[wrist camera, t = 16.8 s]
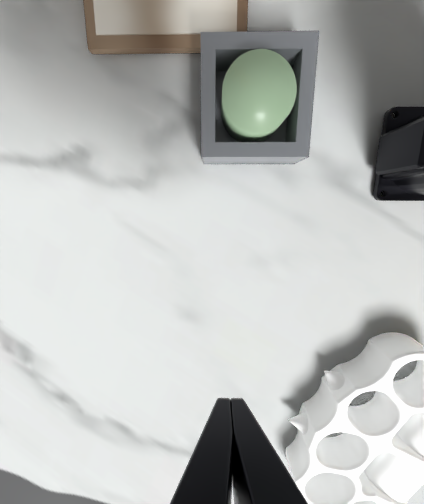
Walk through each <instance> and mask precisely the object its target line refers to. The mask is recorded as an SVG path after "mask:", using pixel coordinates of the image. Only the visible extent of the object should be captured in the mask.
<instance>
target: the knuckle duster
mask: <svg viewBox="0 0 424 504" xmlns="http://www.w3.org/2000/svg"><path fill="white" fill-rule="evenodd" d="M415 360H417V365H416V368H415V369H414V371H413V372H412V373H411V374H410V375H409V376H407V377H406V378H403V379H401V380H395V381H393V379H394V376H395V374H396V373H397V371H398V370H399V369H400V368H401V367H402V366H404V365H405V364H407V363H409V362H412V361H415ZM324 372H325V375H324V376H323V377H322V378H321V384H320V387H319V389H318V391H317V392H316V393H315V395H314V396H313V397H311V398H310V399H309V400H307V401H305V402H303V403H302V406H301V408H300V411H299V414H298V415H297V416H294V417H292V418H290V419H287V420H288V421H290V422H291V423H292V424H293V425H294V426H295V427H296V428H298V432H297V435H296V438H295V439H294V441H293V442H292V443H291V444H290V445H289V446H287V447H286V450H285V454H286V459H287V462H288V466H289V470H290V473H291V477H292V478H293V480H294V482H295V483H296V485H297V487H298V488H299V490H300V491H301V493H302V495H303V496H304V498H305V500H306V501H307V503H308V504H353V503H354V502H357V501H368V500H371V501H374V502H376V503H378V504H406V503H407V502H408V499H409V498H410V497H411V496H412V495H413V494H414V493H415V492H416V491H417V490H418V489H419V488H420V487H421V486H422V485H423V484H424V346H423V345H422V344H420V343H419V342H417V341H416V340H415V339H413V338H412V337H410V336H408V335H406V334H402V333H397V332H388V333H383V334H379V335H376V336H374V337H372V338H370V339H369V340H368V343H367V345H366V347H365V348H364V350H363V351H362V352H361V353H360V354H359V355H358V356H357V357H355V358H354V359H352V360H350V361H348V362H345V363H341V364H338V365H336V366H335V367H334V368H333V369H331V370H330V371H327V370H324ZM368 391H376V392H375V395H374V396H373V398H372V399H371V400H370V401H368V402H367V403H365V404H363V405H359V406H350V405H349V404H350V403H351V401H352V400H353V399H354V398H355V397H357V396H358V395H360V394H362V393H364V392H368ZM338 432H342V434H340V435H338V436H335V437H325V436H327V435H329V434H332V433H338Z"/></svg>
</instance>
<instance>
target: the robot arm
mask: <svg viewBox="0 0 424 504" xmlns="http://www.w3.org/2000/svg"><path fill="white" fill-rule="evenodd" d="M392 113H394V114H395V117H394V118H392ZM375 172H376V179H375V186H374V193H373V196H374V198H375V199H376V200H390V201H424V107H394V108H392V109H390V110H388V111H387V112H386V113H385V116H384V122H383V129H382V136H381V137H380V141H379V148H378V155H377V163H376V170H375ZM381 191H382V192H383V196H382V197H381V196H380V192H381ZM232 486H233V495H234V503H235V504H308V503H307V501H306V500H305V498H304V496H303V495H302V493H301V491H300V490H299V488H298V487H297V485H296V483H295V482H294V480H293V478H292V477H291V475H290V474H289V472H288V470H287V469H286V467H285V466H284V464H283V462H282V461H281V459H280V457H279V456H278V454H277V453H276V451H275V449H274V448H273V446H272V445H271V443H270V441H269V440H268V438H267V436H266V435H265V433H264V432H263V430H262V428H261V427H260V425H259V424H258V422H257V420H256V419H255V417H254V415H253V414H252V412H251V411H250V409H249V407H248V406H247V404H246V403H245V401H244V400H243V399H242V398H232V399H231V400H230V399H229V398H218V399H217V401H216V403H215V405H214V407H213V409H212V412H211V414H210V416H209V418H208V421H207V423H206V425H205V427H204V429H203V432H202V434H201V436H200V438H199V440H198V443H197V445H196V447H195V449H194V452H193V454H192V456H191V458H190V460H189V463H188V465H187V467H186V469H185V471H184V474H183V476H182V478H181V480H180V483H179V485H178V487H177V489H176V491H175V494H174V496H173V498H172V500H171V503H170V504H231V493H232Z"/></svg>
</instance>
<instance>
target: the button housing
mask: <svg viewBox="0 0 424 504" xmlns="http://www.w3.org/2000/svg"><path fill="white" fill-rule="evenodd" d="M318 40H319V31H248V32H201V157H202V160H203V163H204V164H295V163H297V162H299V161H301V160H303V159H305V158H308V157H309V148H310V136H311V124H312V112H313V100H314V88H315V76H316V64H317V52H318ZM255 49H268V50H272V51H274V52H276V53H278V54H280V55H281V56H282V57H284V58H285V59H286V60H287V62H288V63H289V64H290V66H291V68H292V70H293V72H294V75H295V78H296V84H297V93H296V99H295V103H294V105H293V108H292V110H291V112H290V113H289V115H288V116H287V118H286V119H285V120H284V121H283V122H282V124H281V125H280V126H279V127H278V128H277V130H276V131H275V132H274V133H273V134H272V135H271V136H270V137H269V138H267V139H266V140H264V141H262V142H240V141H238V140H236V139H235V138H233V137H232V136H231V135H230V134H229V133H228V131H227V130H226V128H225V126H224V124H223V121H222V116H221V103H222V86H223V81H224V78H225V75H226V73H227V71H228V69H229V67H230V66H231V64H232V63H233V62H234V61H235V60H236V59H237V58H238V57H239V56H241V55H242V54H244V53H246V52H248V51H251V50H255Z"/></svg>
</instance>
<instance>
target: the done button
mask: <svg viewBox="0 0 424 504" xmlns="http://www.w3.org/2000/svg"><path fill="white" fill-rule="evenodd" d="M296 93H297V84H296V78H295V75H294V72H293V70H292V68H291V66H290V64H289V63H288V62H287V60H286V59H285V58H284V57H282V56H281V55H280V54H278V53H276V52H274V51H272V50H268V49H255V50H251V51H248V52H246V53H244V54H242V55H241V56H239V57H238V58H237V59H236V60H235V61H234V62H233V63H232V64H231V66H230V67H229V69H228V71H227V73H226V75H225V78H224V81H223V86H222V103H221V116H222V121H223V124H224V126H225V128H226V130H227V131H228V133H229V134H230V135H231V136H232V137H233V138H235V139H236V140H238V141H240V142H262V141H264V140H266V139H267V138H269V137H270V136H271V135H272V134H273V133H274V132H275V131H276V130H277V128H278V127H279V126H280V125H281V124H282V122H283V121H284V120H285V119H286V118H287V116H288V115H289V113H290V112H291V110H292V108H293V105H294V103H295V99H296Z"/></svg>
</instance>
